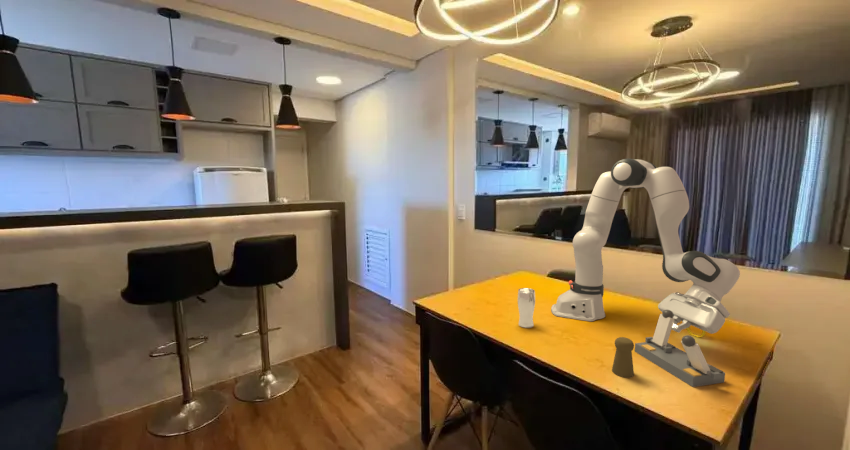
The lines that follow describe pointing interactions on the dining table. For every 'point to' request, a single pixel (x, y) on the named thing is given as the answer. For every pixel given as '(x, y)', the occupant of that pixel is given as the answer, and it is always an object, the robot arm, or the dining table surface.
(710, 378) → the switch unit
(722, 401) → the dining table surface
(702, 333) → the watch
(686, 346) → the lever
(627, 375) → the brown pawn
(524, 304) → the beer glass
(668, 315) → the lever
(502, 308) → the dining table surface
